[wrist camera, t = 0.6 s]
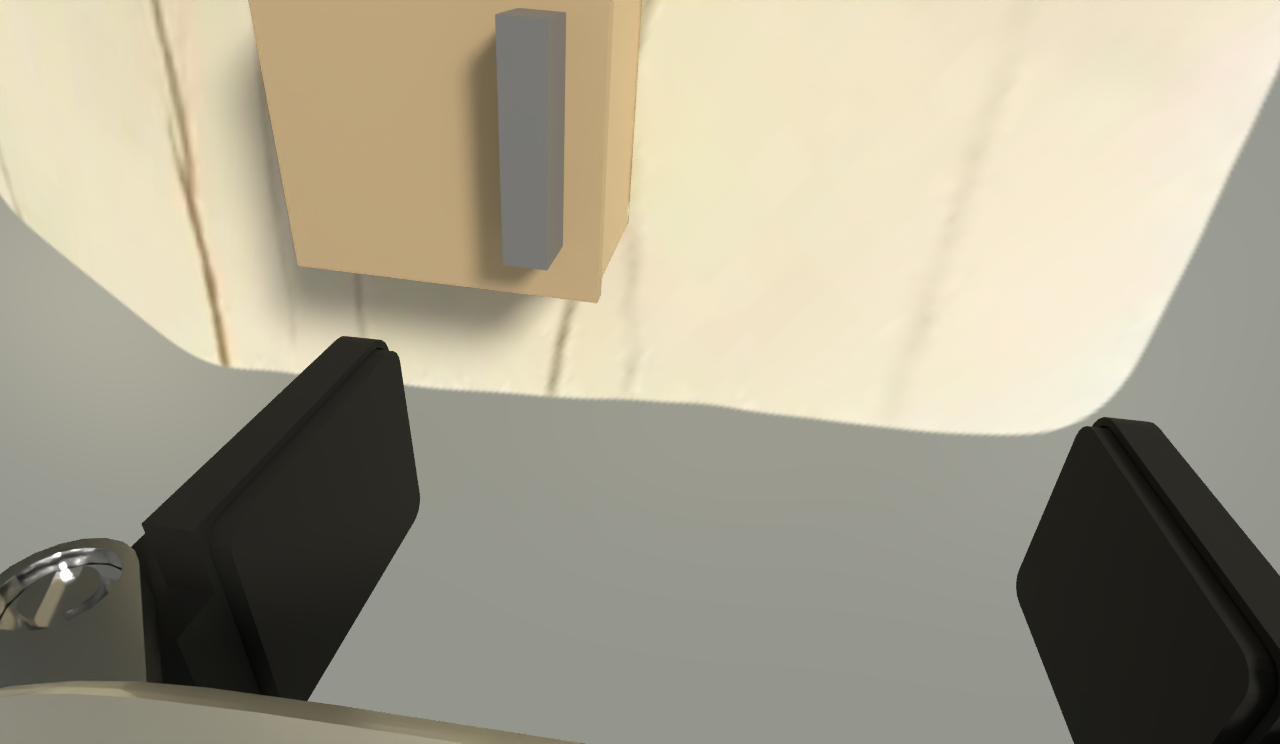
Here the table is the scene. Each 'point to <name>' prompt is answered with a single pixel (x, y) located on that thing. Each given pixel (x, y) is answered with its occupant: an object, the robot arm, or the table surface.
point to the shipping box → (621, 122)
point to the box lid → (443, 137)
